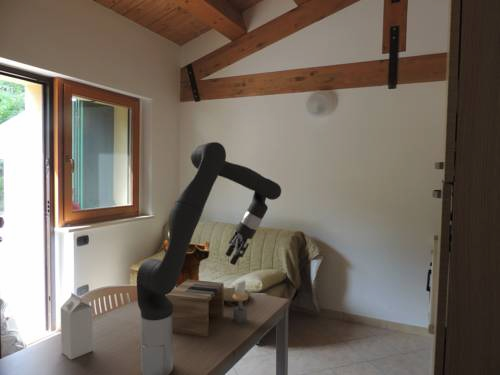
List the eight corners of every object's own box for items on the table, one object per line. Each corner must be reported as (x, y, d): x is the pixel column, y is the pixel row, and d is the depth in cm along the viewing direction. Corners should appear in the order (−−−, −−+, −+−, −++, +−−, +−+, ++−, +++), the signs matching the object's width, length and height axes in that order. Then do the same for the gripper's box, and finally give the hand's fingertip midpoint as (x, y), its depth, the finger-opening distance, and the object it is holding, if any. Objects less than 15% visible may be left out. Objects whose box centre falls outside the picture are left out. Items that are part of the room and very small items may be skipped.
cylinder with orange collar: (247, 325, 132) (247, 284, 131) (232, 324, 132) (232, 284, 131) (247, 318, 138) (247, 279, 137) (232, 318, 138) (233, 279, 137)
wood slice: (243, 309, 148) (243, 302, 148) (209, 304, 153) (209, 297, 153) (254, 296, 163) (254, 290, 163) (223, 292, 168) (223, 286, 168)
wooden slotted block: (207, 337, 122) (207, 298, 122) (166, 331, 126) (166, 294, 126) (223, 316, 140) (223, 282, 139) (187, 312, 144) (187, 279, 143)
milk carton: (83, 344, 117) (82, 289, 116) (93, 351, 112) (92, 294, 111) (61, 352, 111) (60, 295, 110) (70, 360, 107) (69, 301, 106)
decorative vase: (204, 306, 149) (201, 242, 148) (156, 304, 154) (153, 242, 153) (218, 289, 170) (216, 234, 168) (175, 288, 174) (172, 234, 173)
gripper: (237, 216, 142) (218, 249, 143) (245, 226, 129) (225, 263, 129) (251, 223, 145) (233, 256, 145) (262, 234, 131) (241, 270, 132)
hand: (229, 259), depth 137 cm, fingers open, 8 cm apart
